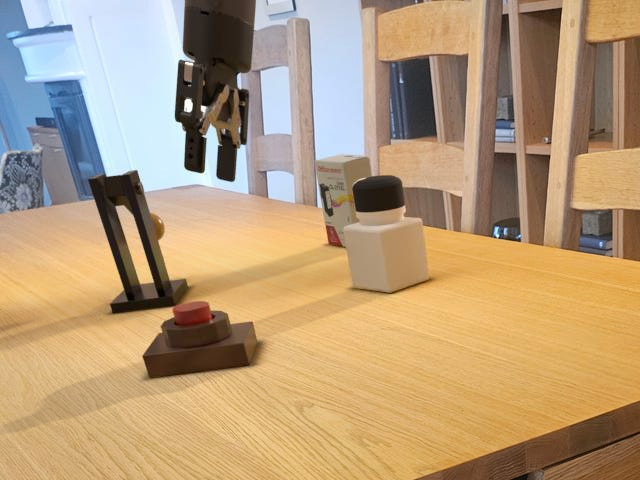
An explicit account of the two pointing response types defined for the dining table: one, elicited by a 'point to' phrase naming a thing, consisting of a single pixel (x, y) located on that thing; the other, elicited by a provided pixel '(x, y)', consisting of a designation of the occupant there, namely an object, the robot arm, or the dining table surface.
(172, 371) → the block
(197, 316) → the release button
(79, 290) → the dining table surface
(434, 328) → the dining table surface
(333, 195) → the ink box
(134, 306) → the bracket
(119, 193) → the ball knob lever
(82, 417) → the dining table surface
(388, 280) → the medicine bottle
